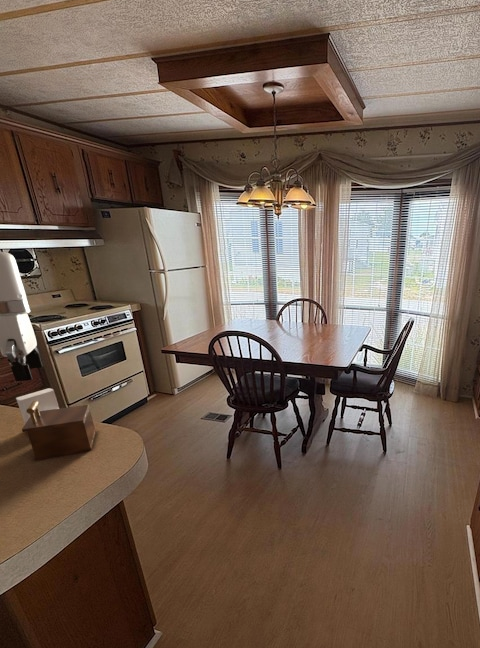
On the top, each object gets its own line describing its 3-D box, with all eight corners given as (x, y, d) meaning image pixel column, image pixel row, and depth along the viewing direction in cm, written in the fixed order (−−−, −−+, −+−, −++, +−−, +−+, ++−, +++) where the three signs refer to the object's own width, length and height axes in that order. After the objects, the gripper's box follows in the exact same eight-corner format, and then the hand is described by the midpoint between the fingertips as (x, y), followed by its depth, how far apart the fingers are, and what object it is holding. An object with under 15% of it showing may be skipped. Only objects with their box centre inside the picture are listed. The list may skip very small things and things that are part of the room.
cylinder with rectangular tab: (54, 419, 113) (44, 386, 108) (70, 426, 109) (60, 392, 105) (22, 431, 105) (9, 395, 101) (37, 439, 102) (25, 402, 97)
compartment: (36, 459, 92) (26, 431, 89) (45, 440, 101) (37, 414, 98) (91, 449, 98) (83, 422, 94) (95, 432, 106) (89, 407, 103)
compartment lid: (22, 432, 89) (16, 414, 87) (33, 414, 97) (28, 398, 95) (83, 422, 94) (79, 405, 92) (89, 406, 103) (85, 391, 101)
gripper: (1, 301, 87) (22, 365, 94) (-28, 314, 73) (-1, 388, 79) (38, 300, 90) (55, 362, 97) (17, 312, 76) (39, 383, 82)
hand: (30, 373), depth 88 cm, fingers open, 9 cm apart
